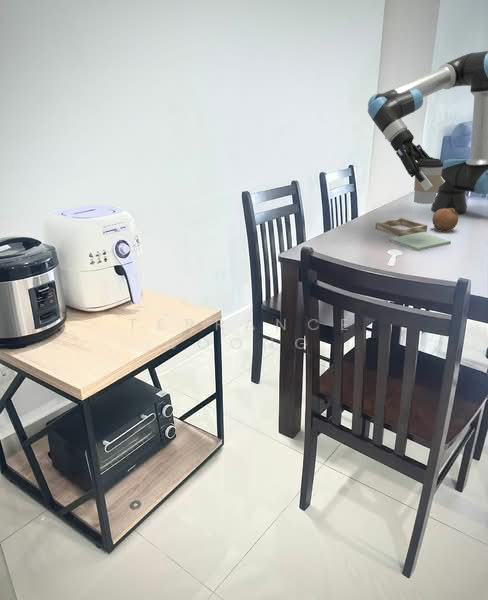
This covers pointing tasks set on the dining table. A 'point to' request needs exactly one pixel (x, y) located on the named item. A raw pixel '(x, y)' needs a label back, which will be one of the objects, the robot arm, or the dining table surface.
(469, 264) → the dining table surface
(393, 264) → the spoon
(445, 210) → the onion
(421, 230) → the picture frame
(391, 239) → the mat
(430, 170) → the coffee cup
